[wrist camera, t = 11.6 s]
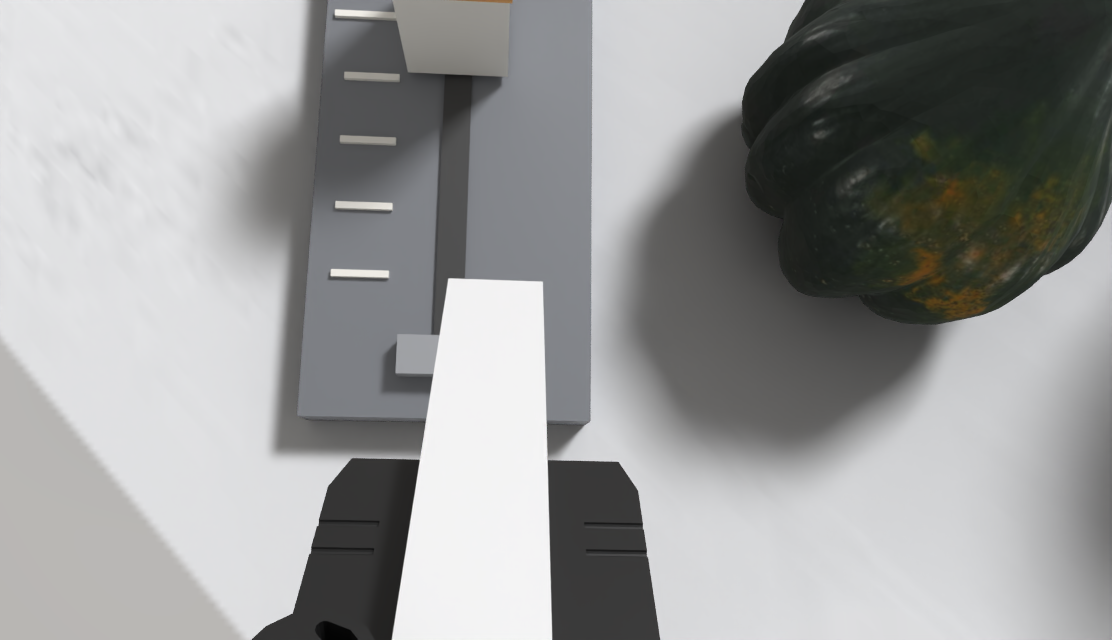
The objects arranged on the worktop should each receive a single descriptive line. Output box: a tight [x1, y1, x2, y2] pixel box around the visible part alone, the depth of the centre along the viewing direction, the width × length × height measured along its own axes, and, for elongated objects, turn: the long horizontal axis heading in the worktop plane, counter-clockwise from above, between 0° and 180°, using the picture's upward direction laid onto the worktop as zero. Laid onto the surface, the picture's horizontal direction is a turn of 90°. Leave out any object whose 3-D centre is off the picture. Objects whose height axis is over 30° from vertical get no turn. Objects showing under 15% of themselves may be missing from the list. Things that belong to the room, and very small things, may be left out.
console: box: [297, 0, 592, 425], centre depth 37 cm, size 22×12×3 cm, turn 179°
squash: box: [741, 0, 1112, 324], centre depth 34 cm, size 14×15×15 cm
